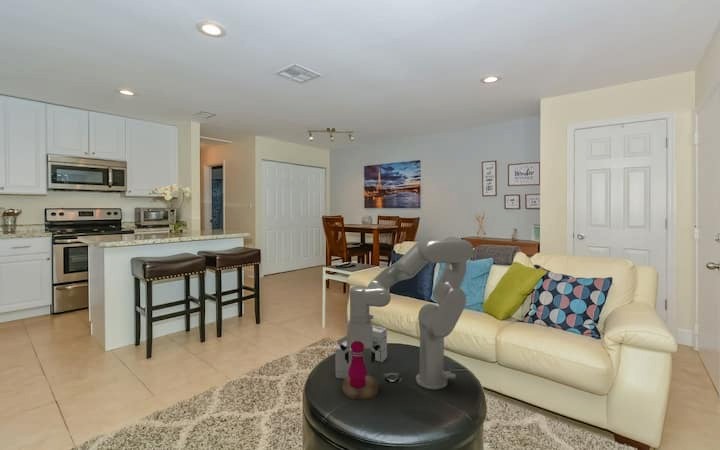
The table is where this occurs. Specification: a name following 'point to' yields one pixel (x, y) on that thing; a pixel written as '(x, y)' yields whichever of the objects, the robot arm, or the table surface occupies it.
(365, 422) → the table surface
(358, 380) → the pepper mill
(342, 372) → the supplement box
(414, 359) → the table surface
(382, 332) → the syrup box
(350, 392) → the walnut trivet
